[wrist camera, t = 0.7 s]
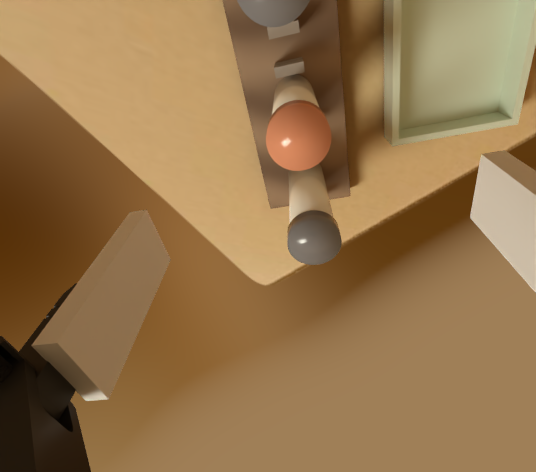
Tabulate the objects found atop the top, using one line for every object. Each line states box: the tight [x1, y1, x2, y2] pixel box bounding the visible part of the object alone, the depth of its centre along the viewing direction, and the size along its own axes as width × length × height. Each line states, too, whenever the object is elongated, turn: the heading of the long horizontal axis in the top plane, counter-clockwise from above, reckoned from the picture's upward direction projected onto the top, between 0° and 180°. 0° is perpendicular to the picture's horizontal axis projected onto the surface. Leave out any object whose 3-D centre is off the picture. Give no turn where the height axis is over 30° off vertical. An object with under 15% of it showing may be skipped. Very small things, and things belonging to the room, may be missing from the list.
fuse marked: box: [266, 74, 332, 171], centre depth 25 cm, size 4×4×13 cm
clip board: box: [223, 0, 350, 209], centre depth 30 cm, size 23×9×4 cm, turn 12°
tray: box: [384, 0, 536, 146], centre depth 28 cm, size 14×11×3 cm
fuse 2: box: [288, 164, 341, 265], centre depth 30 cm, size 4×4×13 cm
